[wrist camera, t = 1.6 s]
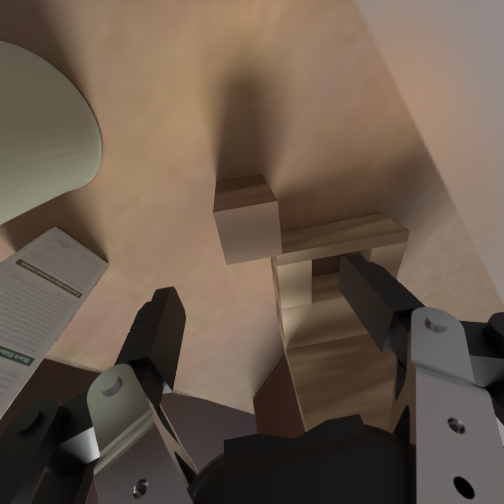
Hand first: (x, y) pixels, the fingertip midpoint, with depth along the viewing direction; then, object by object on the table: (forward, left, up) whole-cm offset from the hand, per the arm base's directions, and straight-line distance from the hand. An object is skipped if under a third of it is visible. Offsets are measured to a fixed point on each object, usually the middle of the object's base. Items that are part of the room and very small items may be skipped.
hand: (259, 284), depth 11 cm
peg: (0, 0, -12) cm, 12 cm away
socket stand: (+12, +8, -12) cm, 18 cm away
